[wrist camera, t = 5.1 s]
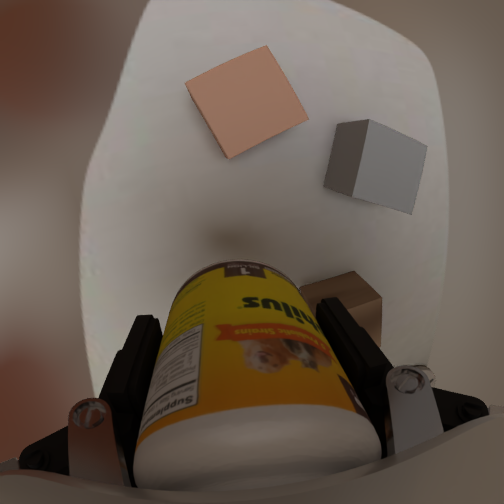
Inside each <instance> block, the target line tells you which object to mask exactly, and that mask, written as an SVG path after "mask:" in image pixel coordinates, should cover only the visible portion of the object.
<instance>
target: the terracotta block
mask: <svg viewBox="0 0 504 504" xmlns="http://www.w3.org/2000/svg"><path fill="white" fill-rule="evenodd" d="M185 85H186V87H187V89H188V91H189V93H190V96H191V98H192V100H193V101H194V103H195V105H196V107H197V108H198V110H199V112H200V113H201V115H202V117H203V119H204V120H205V122H206V124H207V125H208V127H209V129H210V131H211V132H212V134H213V136H214V138H215V139H216V141H217V143H218V145H219V146H220V148H221V150H222V152H223V153H224V155H225V157H226V158H227V159H231V158H233V157H234V156H236V155H238V154H240V153H242V152H244V151H246V150H247V149H249V148H251V147H253V146H255V145H257V144H259V143H261V142H263V141H265V140H267V139H269V138H271V137H273V136H275V135H277V134H279V133H281V132H283V131H285V130H287V129H289V128H291V127H293V126H296V125H298V124H300V123H302V122H304V121H306V120H309V118H308V116H307V114H306V112H305V110H304V109H303V107H302V105H301V103H300V101H299V99H298V97H297V96H296V94H295V92H294V90H293V88H292V87H291V85H290V83H289V81H288V80H287V78H286V76H285V74H284V73H283V71H282V69H281V68H280V66H279V64H278V63H277V61H276V59H275V58H274V56H273V55H272V53H271V51H270V50H269V48H268V47H267V45H266V46H263V47H261V48H258V49H256V50H253V51H251V52H248V53H246V54H243V55H241V56H239V57H237V58H234V59H232V60H230V61H228V62H225V63H223V64H221V65H219V66H217V67H215V68H213V69H211V70H209V71H207V72H205V73H203V74H201V75H199V76H197V77H195V78H193V79H191V80H189V81H187V82H186V83H185Z"/></svg>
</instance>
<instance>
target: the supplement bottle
mask: <svg viewBox="0 0 504 504" xmlns="http://www.w3.org/2000/svg"><path fill="white" fill-rule="evenodd" d="M381 454H382V449H381V443H380V440H379V437H378V435H377V433H376V431H375V428H374V426H373V424H372V422H371V420H370V418H369V417H368V415H367V413H366V411H365V409H364V408H363V406H362V404H361V402H360V400H359V398H358V396H357V394H356V392H355V390H354V388H353V387H352V385H351V383H350V381H349V379H348V377H347V376H346V374H345V372H344V370H343V368H342V366H341V365H340V363H339V361H338V359H337V357H336V355H335V353H334V352H333V350H332V348H331V346H330V344H329V343H328V341H327V339H326V337H325V335H324V333H323V332H322V330H321V328H320V326H319V324H318V323H317V321H316V319H315V317H314V316H313V314H312V312H311V310H310V308H309V307H308V305H307V303H306V301H305V300H304V298H303V296H302V295H301V293H300V291H299V290H298V288H297V287H296V286H295V284H294V283H293V282H292V281H291V280H290V279H289V278H288V277H287V276H286V275H285V274H283V273H282V272H280V271H279V270H277V269H276V268H274V267H272V266H270V265H267V264H265V263H261V262H258V261H253V260H245V259H232V260H225V261H220V262H217V263H214V264H211V265H209V266H207V267H205V268H203V269H201V270H199V271H198V272H196V273H195V274H193V275H192V276H191V277H190V278H189V279H188V280H187V281H186V282H185V283H184V284H183V285H182V287H181V288H180V290H179V291H178V293H177V294H176V297H175V299H174V301H173V303H172V306H171V310H170V312H169V316H168V320H167V324H166V327H165V331H164V334H163V337H162V340H161V345H160V348H159V352H158V355H157V359H156V363H155V367H154V371H153V375H152V379H151V383H150V387H149V391H148V395H147V399H146V403H145V408H144V412H143V417H142V421H141V426H140V430H139V435H138V439H137V445H136V450H135V456H134V464H133V474H134V479H135V483H136V485H137V487H138V488H141V489H151V490H164V491H188V492H206V491H232V490H245V489H255V488H264V487H271V486H278V485H285V484H291V483H296V482H301V481H306V480H311V479H316V478H320V477H324V476H328V475H332V474H336V473H340V472H343V471H347V470H350V469H354V468H357V467H360V466H363V465H366V464H369V463H372V462H375V461H378V460H381Z"/></svg>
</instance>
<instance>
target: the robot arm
mask: <svg viewBox="0 0 504 504" xmlns="http://www.w3.org/2000/svg"><path fill="white" fill-rule="evenodd" d="M315 319H316V321H317V323H318V324H319V326H320V328H321V330H322V332H323V333H324V335H325V337H326V339H327V341H328V343H329V344H330V346H331V348H332V350H333V352H334V353H335V355H336V357H337V359H338V361H339V363H340V365H341V366H342V368H343V370H344V372H345V374H346V376H347V377H348V379H349V381H350V383H351V385H352V387H353V388H354V390H355V392H356V394H357V396H358V398H359V400H360V402H361V404H362V406H363V408H364V409H365V411H366V413H367V415H368V417H369V418H370V420H371V422H372V424H373V426H374V428H375V431H376V433H377V435H378V437H379V440H380V443H381V449H382V454H381V460H378V461H375V462H372V463H369V464H366V465H363V466H360V467H357V468H354V469H350V470H347V471H343V472H340V473H336V474H332V475H328V476H324V477H320V478H316V479H311V480H306V481H301V482H296V483H291V484H285V485H278V486H271V487H264V488H255V489H245V490H232V491H206V492H188V491H164V490H151V489H141V488H138V487H137V485H136V483H135V479H134V474H133V464H134V456H135V450H136V445H137V439H138V435H139V430H140V426H141V421H142V417H143V412H144V408H145V403H146V399H147V395H148V391H149V387H150V383H151V379H152V375H153V371H154V367H155V363H156V359H157V355H158V352H159V348H160V345H161V340H162V337H163V335H162V331H161V327H160V323H159V320H158V318H154V317H153V315H138V316H137V317H136V319H135V321H134V323H133V325H132V328H131V330H130V332H129V335H128V337H127V339H126V342H125V344H124V346H123V349H122V350H119V351H118V352H117V354H116V356H115V358H114V361H113V363H112V365H111V368H110V370H109V373H108V375H107V378H106V380H105V383H104V385H103V388H102V390H101V393H100V395H99V398H87V399H84V400H81V401H79V402H78V403H76V404H75V405H74V406H73V407H72V408H71V410H70V412H69V417H68V426H66V427H64V428H62V429H60V430H58V431H57V432H55V433H53V434H51V435H49V436H47V437H45V438H43V439H41V440H39V441H37V442H35V443H33V444H31V445H29V446H27V447H26V448H25V449H24V450H23V451H22V453H21V455H20V457H19V460H17V459H16V458H12V459H10V460H8V461H5V462H2V463H0V504H504V407H502V406H495V405H490V406H489V408H487V406H486V405H485V403H484V402H483V401H481V400H480V399H478V398H475V397H472V396H467V395H463V394H458V393H454V392H449V391H446V390H442V389H437V388H434V384H435V375H434V373H433V372H432V371H431V370H430V369H429V368H427V367H424V366H418V367H413V366H407V365H403V366H397V367H395V368H394V367H393V366H392V364H391V363H390V362H389V360H388V359H387V358H386V356H385V355H384V354H383V352H382V351H381V350H380V348H379V347H378V346H377V344H376V343H375V342H374V340H373V339H372V338H371V337H370V335H369V334H368V333H367V331H366V330H365V329H364V328H363V327H360V326H359V325H358V323H357V322H356V321H355V319H354V318H353V317H352V316H351V314H350V313H349V312H348V310H347V309H346V308H345V306H344V305H343V304H342V303H341V301H340V300H339V299H338V298H337V297H331V298H324V299H322V300H321V303H317V305H316V318H315Z"/></svg>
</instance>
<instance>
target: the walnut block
mask: <svg viewBox="0 0 504 504" xmlns="http://www.w3.org/2000/svg"><path fill="white" fill-rule="evenodd" d="M300 290H301V295H302V296H303V298H304V300H305V301H306V303H307V305H308V307H309V308H310V310H311V312H312V314H313V316H314V317H315V318H316V305H317V303H321V300H322V299H324V298H331V297H337V298H338V299H339V300H340V301H341V303H342V304H343V305H344V306H345V308H346V309H347V310H348V312H349V313H350V314H351V316H352V317H353V318H354V319H355V321H356V322H357V323H358V325H359V326H360V327H363V328H364V329H365V330H366V331H367V333H368V334H369V335H370V337H371V338H372V339H373V340H374V342H375V343H376V344H377V346H378V347H381V327H382V297H381V296H380V295H379V294H378V293H377V292H376V291H375V290H374V289H373V288H372V287H371V286H370V285H369V284H368V283H367V282H366V281H364V280H363V279H362V278H361V277H360V276H359V275H358V274H357V273H356V272H355V271H352V272H348V273H345V274H342V275H339V276H336V277H332V278H329V279H326V280H322V281H319V282H316V283H312V284H309V285H305V286H302V287H300Z"/></svg>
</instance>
